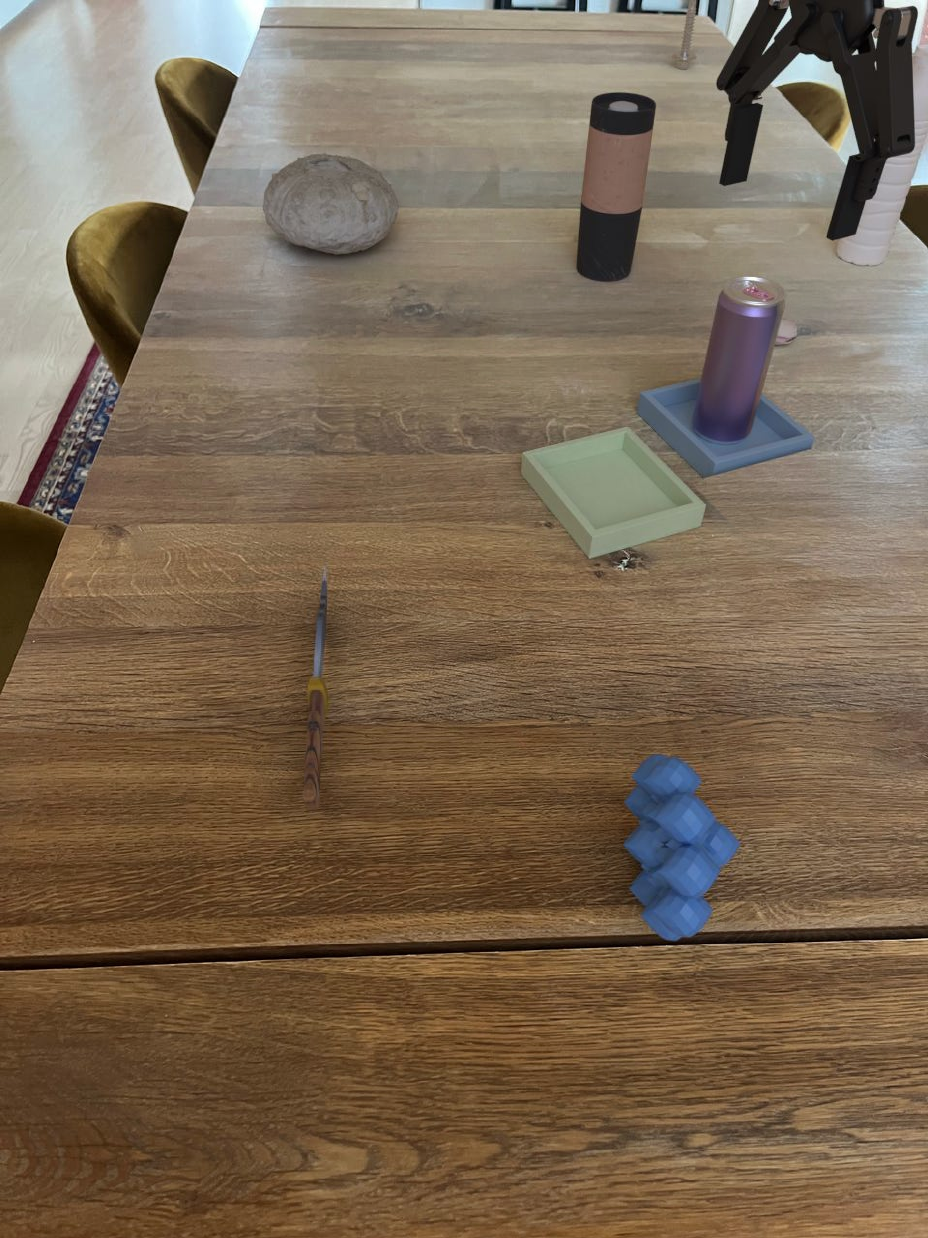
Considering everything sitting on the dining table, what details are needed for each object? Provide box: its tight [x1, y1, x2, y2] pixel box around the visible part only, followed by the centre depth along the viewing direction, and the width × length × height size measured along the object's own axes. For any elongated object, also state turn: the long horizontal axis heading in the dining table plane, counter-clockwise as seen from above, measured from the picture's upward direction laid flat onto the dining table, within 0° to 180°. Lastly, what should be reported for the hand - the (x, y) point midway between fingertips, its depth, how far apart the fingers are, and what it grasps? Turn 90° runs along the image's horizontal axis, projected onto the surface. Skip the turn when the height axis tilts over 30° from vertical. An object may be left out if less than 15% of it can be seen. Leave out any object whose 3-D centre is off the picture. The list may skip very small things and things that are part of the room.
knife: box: [302, 567, 329, 811], centre depth 69 cm, size 25×1×5 cm, turn 4°
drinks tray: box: [636, 377, 815, 479], centre depth 95 cm, size 14×12×2 cm
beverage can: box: [692, 275, 787, 445], centre depth 90 cm, size 6×6×15 cm
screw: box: [671, 0, 697, 70], centre depth 185 cm, size 13×5×5 cm
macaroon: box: [775, 318, 799, 346], centre depth 110 cm, size 4×5×2 cm
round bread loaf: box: [262, 152, 399, 256], centre depth 124 cm, size 18×18×10 cm
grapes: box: [623, 752, 741, 942], centre depth 55 cm, size 12×7×12 cm, turn 1°
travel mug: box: [576, 91, 657, 282], centre depth 116 cm, size 8×8×20 cm
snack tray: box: [520, 426, 707, 560], centre depth 87 cm, size 14×12×2 cm
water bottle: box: [835, 43, 928, 267], centre depth 117 cm, size 9×6×25 cm
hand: (783, 208), depth 84 cm, fingers open, 13 cm apart
